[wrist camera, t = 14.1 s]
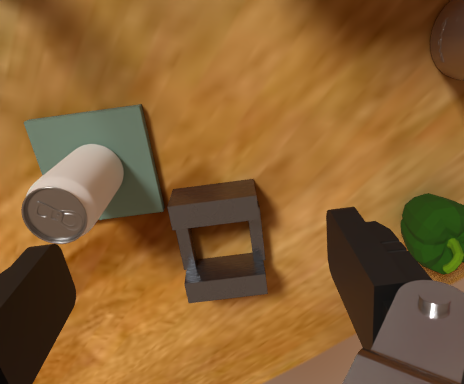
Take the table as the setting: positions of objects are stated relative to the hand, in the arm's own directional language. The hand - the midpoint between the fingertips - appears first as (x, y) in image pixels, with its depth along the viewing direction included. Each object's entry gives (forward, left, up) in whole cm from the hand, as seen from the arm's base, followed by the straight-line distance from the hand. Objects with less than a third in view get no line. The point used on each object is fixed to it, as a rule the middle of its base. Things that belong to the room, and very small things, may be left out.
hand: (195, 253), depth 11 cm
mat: (+15, +7, -33) cm, 37 cm away
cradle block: (+2, +18, -33) cm, 38 cm away
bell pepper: (-24, +19, -33) cm, 45 cm away
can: (+15, +7, -32) cm, 36 cm away
